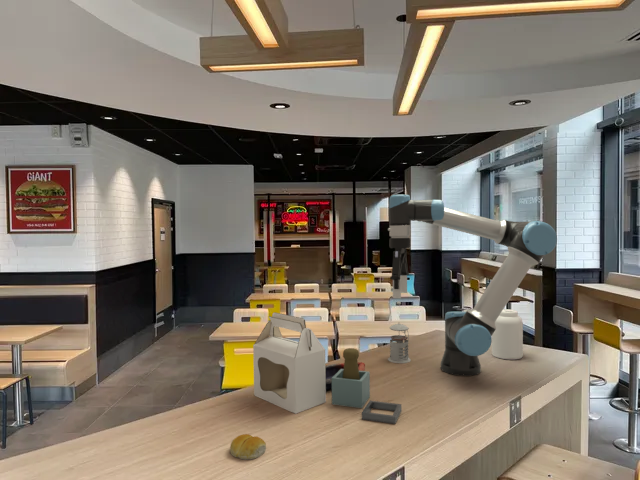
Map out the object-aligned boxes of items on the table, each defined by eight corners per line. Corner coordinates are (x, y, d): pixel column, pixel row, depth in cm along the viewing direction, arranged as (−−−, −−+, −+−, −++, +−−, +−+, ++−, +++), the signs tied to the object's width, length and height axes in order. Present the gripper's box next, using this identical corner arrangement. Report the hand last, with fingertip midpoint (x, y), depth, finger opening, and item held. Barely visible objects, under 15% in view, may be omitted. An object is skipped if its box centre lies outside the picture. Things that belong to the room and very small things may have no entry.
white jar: (519, 352, 202) (519, 308, 201) (525, 361, 190) (525, 313, 189) (489, 351, 205) (489, 307, 204) (493, 359, 193) (493, 312, 192)
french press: (383, 360, 193) (382, 301, 192) (397, 354, 202) (397, 298, 201) (403, 364, 187) (403, 304, 186) (417, 358, 196) (416, 300, 195)
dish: (287, 385, 164) (287, 372, 164) (352, 369, 182) (352, 357, 182) (311, 398, 152) (311, 383, 152) (379, 379, 169) (379, 366, 169)
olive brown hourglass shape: (359, 385, 145) (359, 351, 145) (340, 384, 146) (340, 351, 146) (361, 379, 151) (361, 346, 151) (343, 378, 152) (343, 346, 152)
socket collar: (401, 410, 140) (401, 404, 140) (395, 424, 131) (395, 417, 131) (369, 406, 144) (369, 400, 144) (361, 419, 134) (361, 412, 134)
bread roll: (244, 441, 122) (244, 426, 122) (270, 450, 117) (270, 434, 117) (222, 454, 115) (222, 439, 115) (249, 464, 110) (249, 448, 110)
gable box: (253, 395, 155) (252, 313, 154) (283, 385, 164) (282, 308, 163) (296, 414, 139) (294, 323, 138) (326, 402, 148) (325, 317, 147)
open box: (369, 396, 152) (369, 371, 152) (362, 408, 143) (361, 381, 142) (341, 393, 155) (341, 368, 155) (331, 404, 146) (331, 378, 146)
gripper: (395, 236, 179) (396, 290, 179) (382, 238, 155) (383, 300, 156) (415, 236, 176) (415, 290, 177) (404, 238, 153) (404, 301, 153)
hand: (400, 295), depth 166 cm, fingers open, 13 cm apart
